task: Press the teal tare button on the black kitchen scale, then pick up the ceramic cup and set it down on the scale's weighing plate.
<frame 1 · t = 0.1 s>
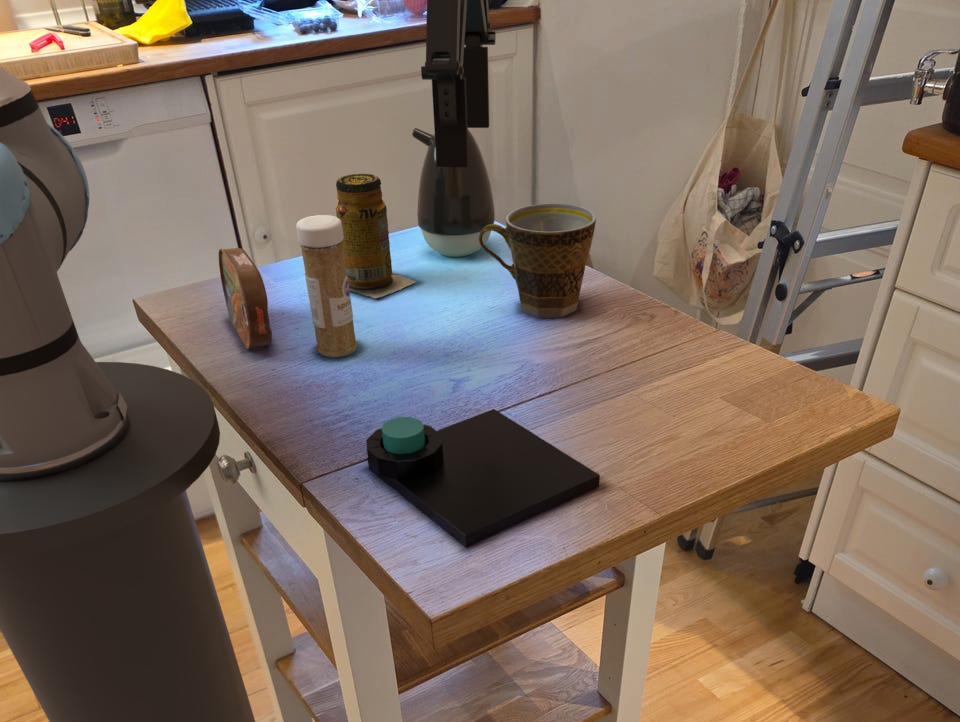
hand: (464, 145, 81), 20 cm above the kitchen island, tool pointing down, fingers open, 13 cm apart
ceramic cup: (535, 309, 104), on the kitchen island
tin: (252, 335, 101), on the kitchen island
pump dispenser: (456, 251, 119), on the kitchen island
condiment: (373, 285, 111), on the kitchen island
tare button: (403, 435, 75), point 3 cm above the kitchen island, slide at 0.1 cm
spice jar: (337, 351, 97), on the kitchen island
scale: (481, 477, 77), on the kitchen island
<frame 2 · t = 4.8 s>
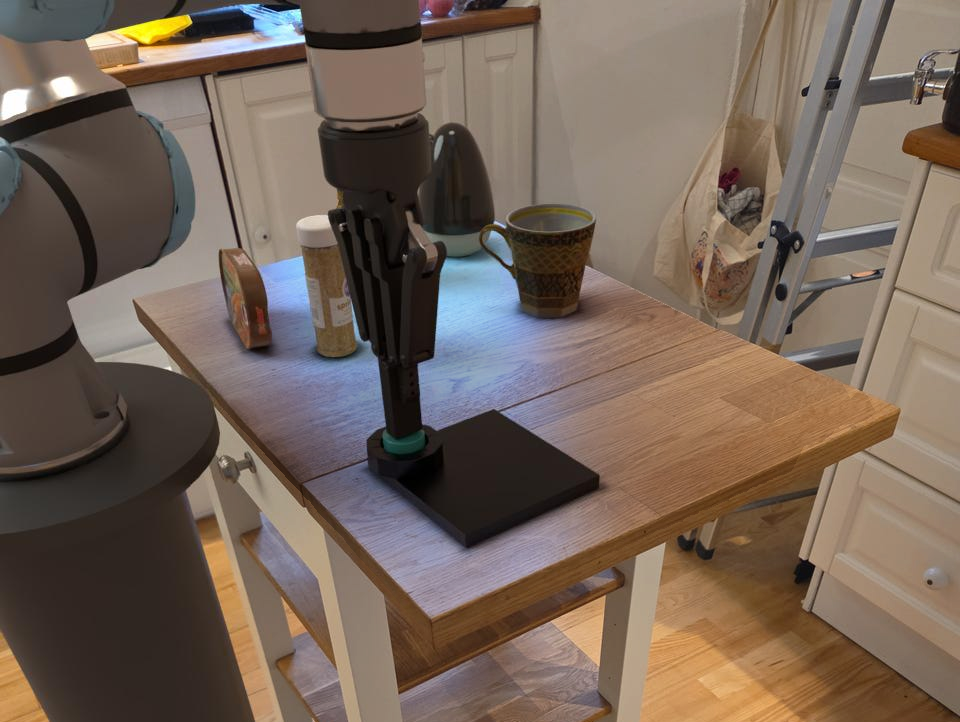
hand: (404, 430, 75), 4 cm above the kitchen island, tool pointing down, fingers closed
tare button: (404, 442, 76), point 3 cm above the kitchen island, slide at -0.5 cm, touching gripper
everything else where it was.
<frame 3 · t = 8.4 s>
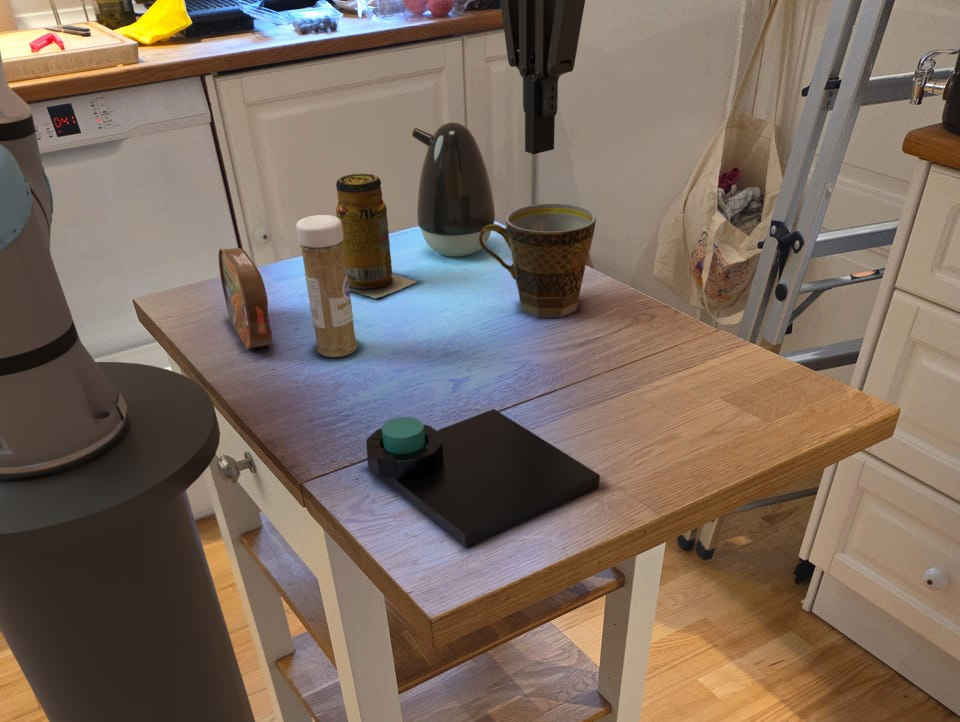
hand: (539, 150, 92), 17 cm above the kitchen island, tool pointing down, fingers closed
tare button: (403, 435, 75), point 3 cm above the kitchen island, slide at 0.1 cm
everything else where it was.
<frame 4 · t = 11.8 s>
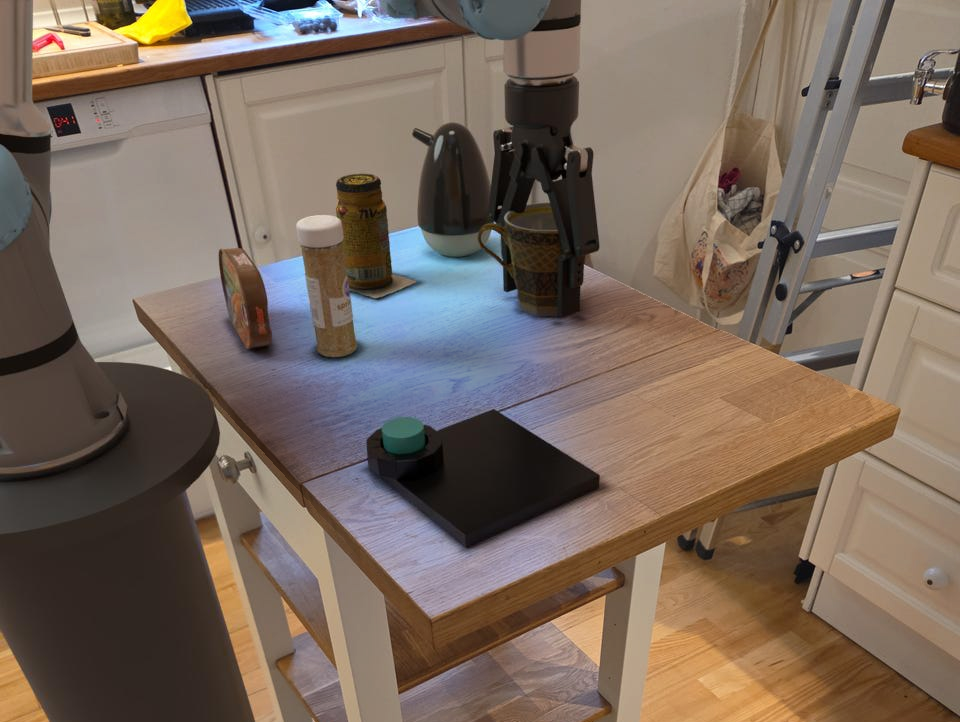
hand: (540, 300, 103), 1 cm above the kitchen island, tool pointing down, fingers closed on ceramic cup, 9 cm apart
ceramic cup: (534, 307, 104), on the kitchen island, touching gripper
everything else where it was.
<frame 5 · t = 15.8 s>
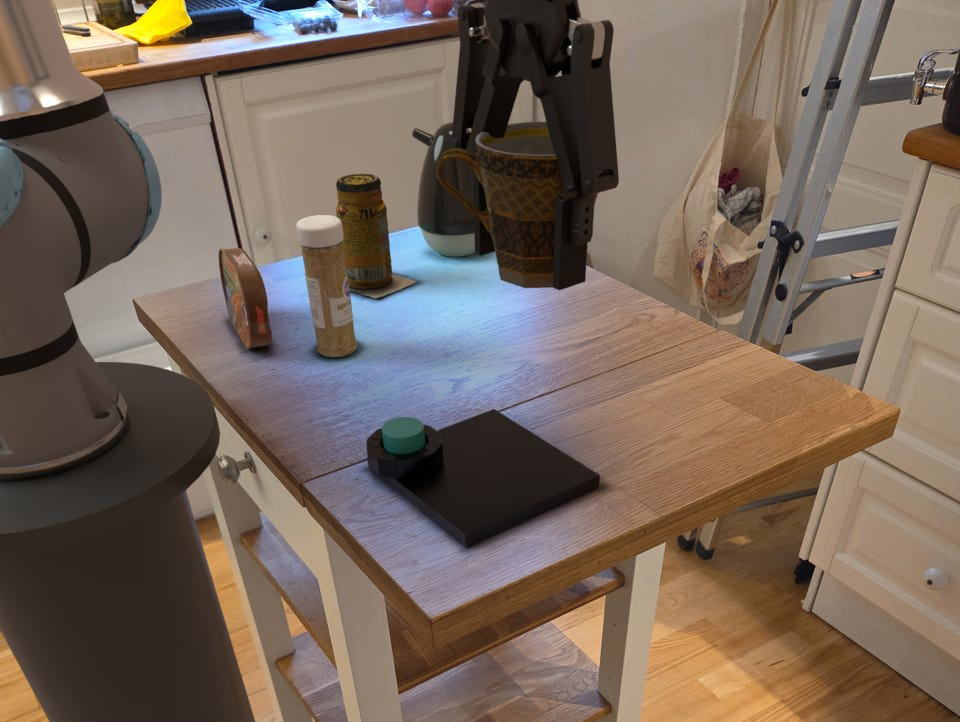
hand: (528, 267, 71), 15 cm above the kitchen island, tool pointing down, fingers closed on ceramic cup, 9 cm apart
ceramic cup: (520, 276, 72), point 14 cm above the kitchen island, touching gripper
everything else where it was.
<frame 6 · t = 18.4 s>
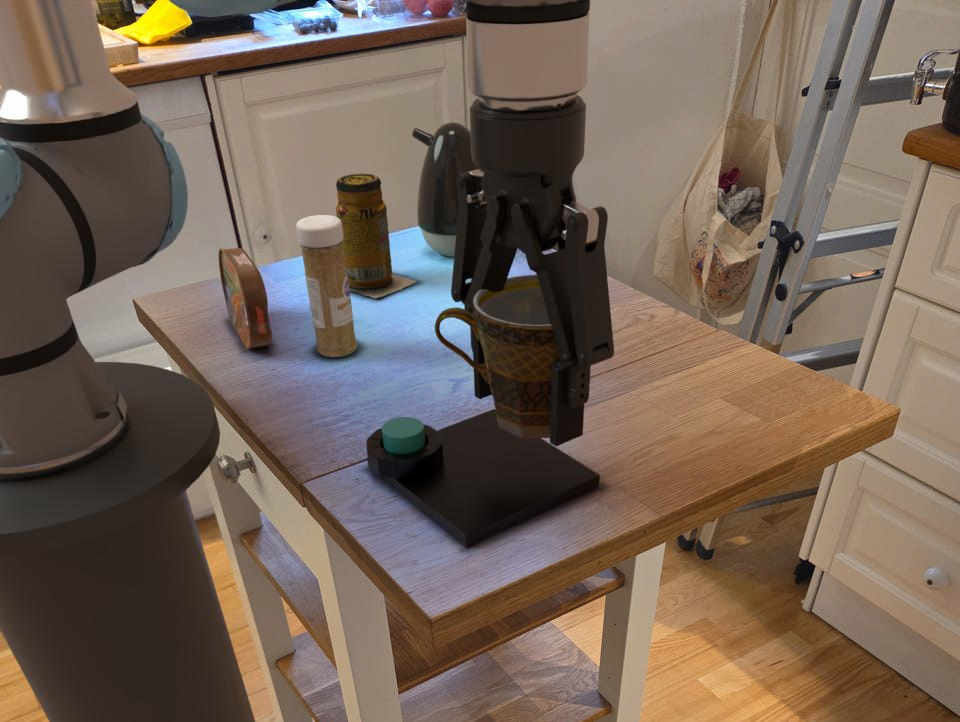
hand: (526, 414, 71), 6 cm above the kitchen island, tool pointing down, fingers closed on ceramic cup, 9 cm apart
ceramic cup: (519, 422, 73), point 5 cm above the kitchen island, touching gripper
everything else where it was.
when the fingers open (2 cm above the kitchen island, at t = 20.3 s): ceramic cup stays where it is, resting on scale.
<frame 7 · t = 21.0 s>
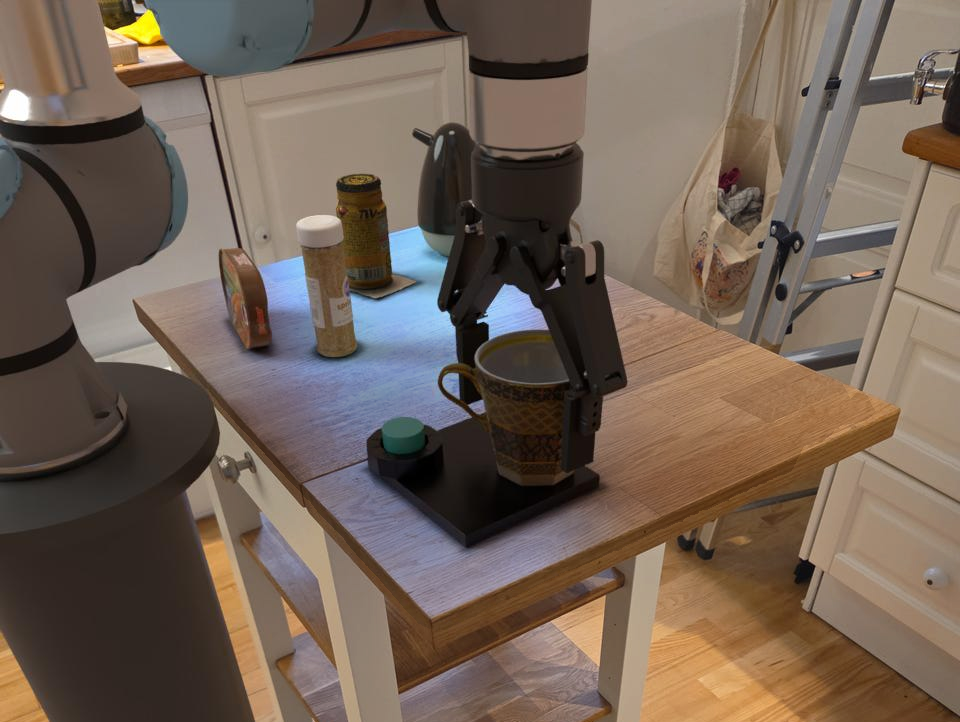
hand: (523, 431, 72), 5 cm above the kitchen island, tool pointing down, fingers open, 13 cm apart
ceramic cup: (518, 468, 76), point 1 cm above the kitchen island, touching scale
everything else where it was.
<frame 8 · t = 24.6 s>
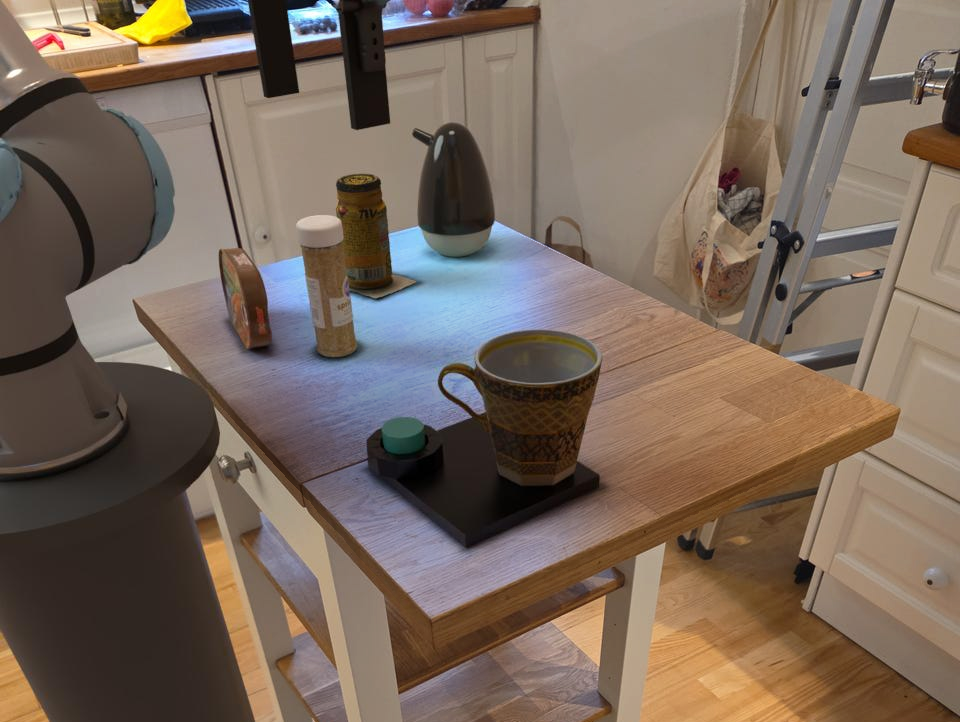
hand: (323, 110, 65), 27 cm above the kitchen island, tool pointing down, fingers open, 13 cm apart
nothing on the kitchen island moved.
at the end: tare button pushed in 1.0 cm at the most during the clip, back to where it started at the end; ceramic cup inside the target area on the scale (0.9 cm from its centre), point 1.0 cm above the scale's base; ceramic cup tilted 0° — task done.
